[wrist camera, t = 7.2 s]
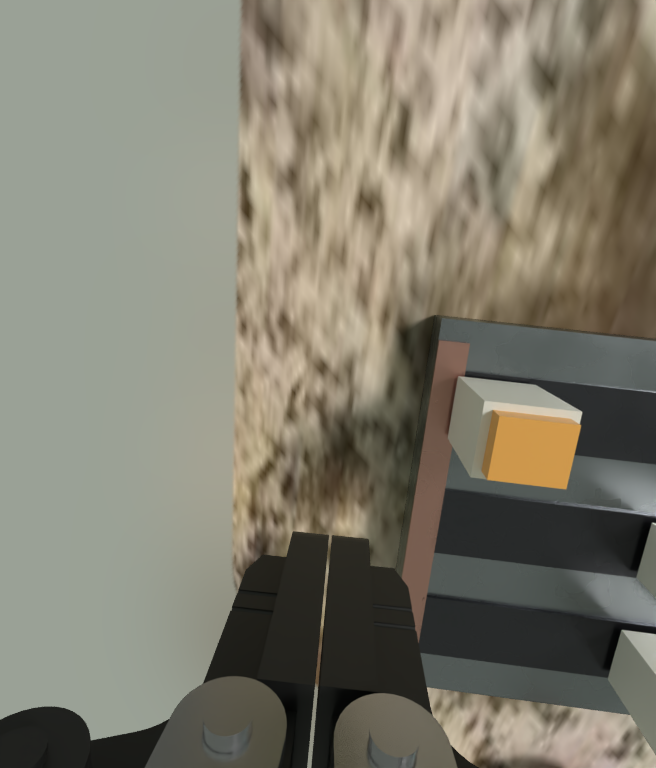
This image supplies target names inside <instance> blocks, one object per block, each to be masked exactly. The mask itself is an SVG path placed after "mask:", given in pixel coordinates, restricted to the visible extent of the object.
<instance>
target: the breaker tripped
mask: <svg viewBox="0 0 656 768" xmlns="http://www.w3.org/2000/svg"><path fill="white" fill-rule="evenodd" d="M581 416H582V411H580V410H578V409H577V408H575V407H573V406H571V405H570V404H568V403H566V402H564V401H563V400H561V399H559V398H557V397H556V396H554V395H552V394H551V393H549V392H547V391H545V390H544V389H542V388H540V387H538V386H537V385H533V384H524V383H515V382H506V381H497V380H488V379H479V378H470V377H461V376H458V380H457V385H456V391H455V397H454V403H453V409H452V415H451V421H450V427H449V433H448V440H449V441H450V443H451V445H452V446H453V448H454V450H455V452H456V453H457V455H458V457H459V458H460V460H461V462H462V464H463V465H464V467H465V469H466V470H467V472H468V474H469V476H470V477H471V478H480V479H487V480H491V481H500V482H508V483H516V484H525V485H533V486H541V487H550V488H558V489H567V484H568V480H569V476H570V472H571V467H572V463H573V459H574V454H575V450H576V446H577V442H578V437H579V433H580V429H581V425H580V420H581Z"/></svg>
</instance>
